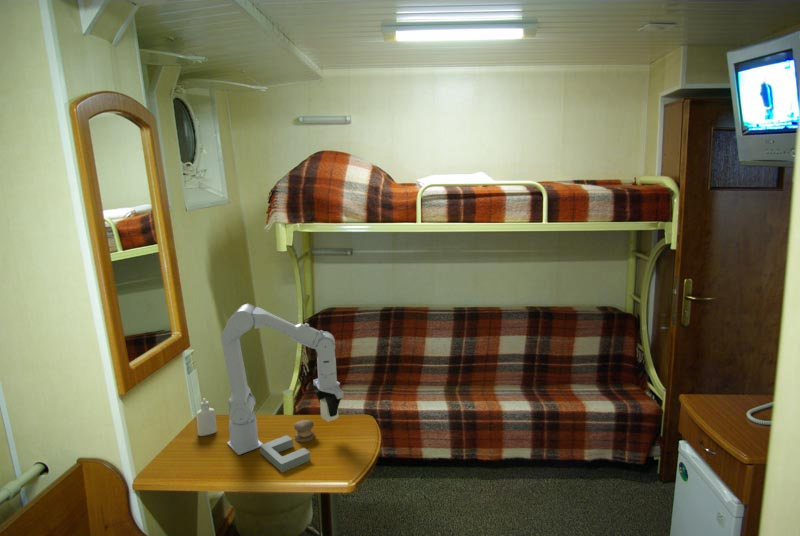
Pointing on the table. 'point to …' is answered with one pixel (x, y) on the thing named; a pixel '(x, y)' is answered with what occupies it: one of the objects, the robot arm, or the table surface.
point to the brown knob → (304, 430)
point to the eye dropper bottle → (206, 419)
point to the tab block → (326, 411)
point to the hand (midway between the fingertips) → (329, 413)
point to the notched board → (288, 460)
